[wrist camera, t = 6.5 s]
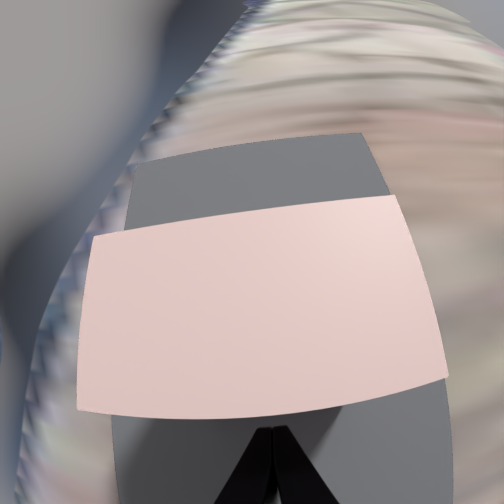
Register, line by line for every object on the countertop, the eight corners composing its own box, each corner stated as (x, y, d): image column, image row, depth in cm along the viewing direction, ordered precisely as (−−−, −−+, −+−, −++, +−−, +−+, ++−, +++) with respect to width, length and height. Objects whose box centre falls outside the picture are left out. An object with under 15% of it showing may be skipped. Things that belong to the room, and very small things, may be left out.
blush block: (347, 396, 13) (449, 376, 4) (205, 411, 13) (76, 409, 5) (336, 320, 15) (394, 194, 6) (201, 336, 15) (94, 236, 6)
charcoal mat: (447, 523, 8) (451, 525, 8) (134, 552, 9) (130, 555, 9) (360, 137, 22) (361, 133, 21) (139, 168, 23) (137, 164, 22)
